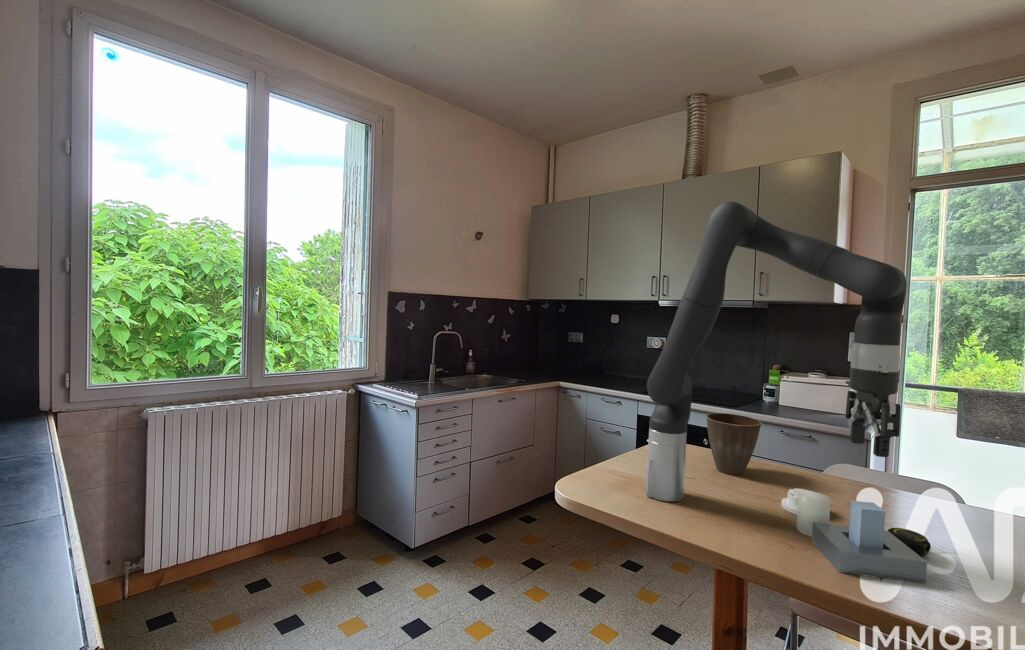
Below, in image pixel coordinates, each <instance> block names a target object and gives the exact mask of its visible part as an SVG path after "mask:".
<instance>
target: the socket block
mask: <svg viewBox="0 0 1025 650" xmlns="http://www.w3.org/2000/svg"><path fill="white" fill-rule="evenodd" d="M811 542H812V543H813V544H814V545H815V546H816V548H818V550H819V551H820V553H821V554H822V555H823V556H825V558H826V559H827V560H828V561H829V562H830V563H831V564H832V565H833V567H834V568H835V569H836V571H838V573H842V574H848V575H849V574H850V575H856V576H857V575H858V576H864V575H868V576H867V577H872V576H875V577H874V578H880V579H881V578H882V579H889V580H894V581H895V580H897V581H903V582H910V583H911V582H912V583H920V584H926V581H927V569H928V561H927V560H925V559H924V558H922V557H920V556H919V555H918V554H916V553H915V552H914V551H913V550H911V549H910V548H909V547H908V546H906V545H905V544H904V543H903V542H901V541H900V540H899V539H898V538H896V537H895V536H894V535H892V534H891V533H890V532H889V531H888V530H884V538H883V549H875V548H867V547H858V546H856V545H855V544H853V543H852V542H851V541H850V540H849V525H848V526H847V525H846V526H845V525H839V524H830V523H829V524H821V523H813V530H812V537H811Z"/></svg>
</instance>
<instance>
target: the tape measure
mask: <svg viewBox="0 0 1025 650" xmlns="http://www.w3.org/2000/svg"><path fill="white" fill-rule="evenodd" d="M887 531H889V532H890V533H891V534H892V535H894V536H895V537H896V538H898V539H899V540H900V541H901V542H903V543H904V544H905V545H906V546H908V547H909V548H910V549H911V550H913V551H914V552H915V553H916V554H918V555H919V556H920V557H922V558H923V559H924V558H925V557H926V556H927V555H928V553H929V552H930V550H931V548H932V545H931V543H930V542H929V540H928V538H927V537H926V536H925V535H923V534H922V533H919V532H917V531H914V530H911V529H907V528H902V527H891V528H888V529H887Z"/></svg>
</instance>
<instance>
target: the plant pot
mask: <svg viewBox="0 0 1025 650" xmlns="http://www.w3.org/2000/svg"><path fill="white" fill-rule="evenodd" d="M706 425H707V426H706V427H707V433H708V435H707V436H708V440H709V445H710V450H711V454H712V458H713V461H714V464H715V468H716V471H719V472H721V473H722V474H726V475H732V476H741V475H744V473H745V471H746V469H747V467H748V465H749V464H750V461H751V458H752V456H753V453H754V452H755V449H756V444H757V442H758V438H759V436H760V431H761V426H762V421H760V420H759V419H757V418H754V417H750V416H747V415H746V416H745V415H741V414H734V413H726V412H722V413H721V412H713V413H708V414H706Z"/></svg>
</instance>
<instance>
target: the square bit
mask: <svg viewBox="0 0 1025 650" xmlns="http://www.w3.org/2000/svg"><path fill="white" fill-rule="evenodd" d="M885 520H886V510H885V509H883V508H881V507H880V506H879V505H878V504H876V503H875V502H870V501H869V502H868V501H859V500H858V501H857V500H850V512H849V525H848V527H849V540H850V541H851V542H852V543H853V544H855V545H856V546H858V547H867V548H875V549H883V538H884V531H885V524H886V523H885V522H886V521H885Z"/></svg>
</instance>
